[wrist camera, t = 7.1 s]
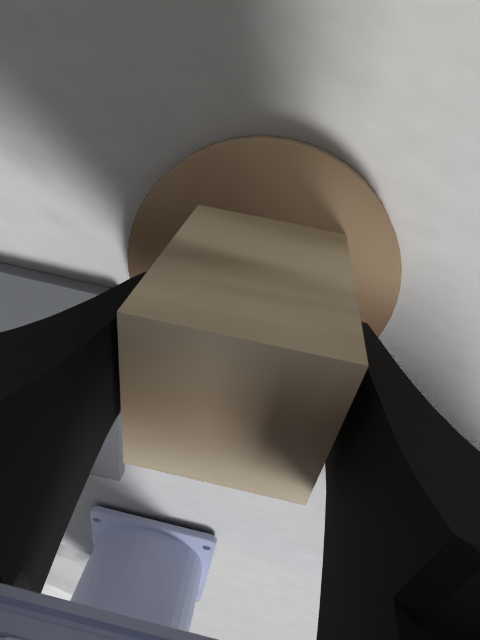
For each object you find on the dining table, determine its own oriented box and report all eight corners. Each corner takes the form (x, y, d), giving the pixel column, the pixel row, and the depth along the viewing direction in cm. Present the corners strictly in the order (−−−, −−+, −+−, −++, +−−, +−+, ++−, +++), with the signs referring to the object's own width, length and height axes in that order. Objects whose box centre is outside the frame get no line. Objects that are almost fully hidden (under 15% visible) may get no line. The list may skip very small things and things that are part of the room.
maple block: (308, 349, 14) (305, 505, 9) (188, 323, 14) (123, 462, 10) (346, 234, 12) (368, 365, 7) (198, 204, 12) (117, 311, 7)
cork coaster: (345, 393, 16) (346, 408, 16) (135, 344, 17) (127, 356, 16) (448, 172, 11) (457, 180, 10) (138, 105, 11) (128, 108, 11)
